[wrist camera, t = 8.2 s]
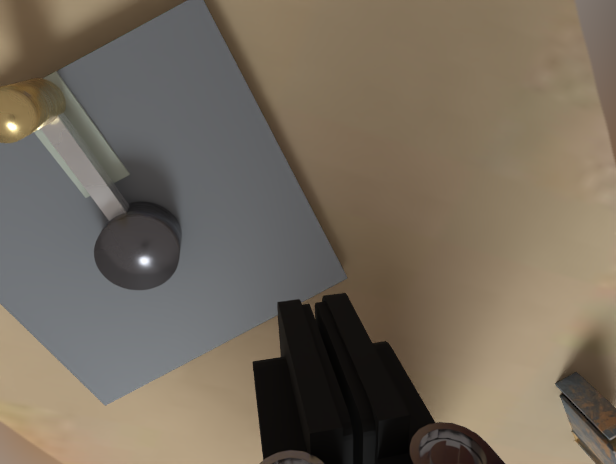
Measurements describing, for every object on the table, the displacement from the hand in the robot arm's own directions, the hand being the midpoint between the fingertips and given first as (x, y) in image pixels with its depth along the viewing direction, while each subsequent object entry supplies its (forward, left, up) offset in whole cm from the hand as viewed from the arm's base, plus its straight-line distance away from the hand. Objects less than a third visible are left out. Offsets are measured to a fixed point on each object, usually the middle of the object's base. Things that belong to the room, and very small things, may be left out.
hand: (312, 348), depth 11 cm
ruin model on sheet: (-44, -18, -23) cm, 53 cm away
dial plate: (-2, +9, -22) cm, 24 cm away
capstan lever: (+3, +9, -20) cm, 23 cm away
